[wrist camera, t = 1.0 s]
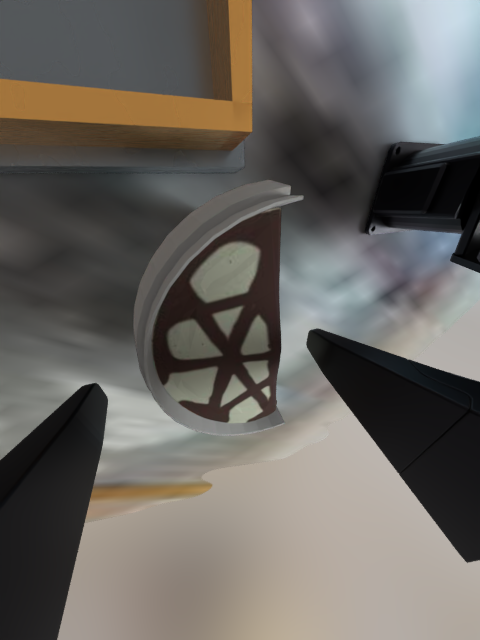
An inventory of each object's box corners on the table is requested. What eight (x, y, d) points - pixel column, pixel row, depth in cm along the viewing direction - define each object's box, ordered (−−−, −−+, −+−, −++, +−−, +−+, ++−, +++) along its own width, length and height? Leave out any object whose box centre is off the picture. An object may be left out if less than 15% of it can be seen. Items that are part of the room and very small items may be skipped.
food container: (120, 204, 11) (-11, 192, 3) (218, 194, 12) (306, 168, 4) (177, 352, 18) (182, 470, 10) (236, 335, 19) (284, 428, 11)
